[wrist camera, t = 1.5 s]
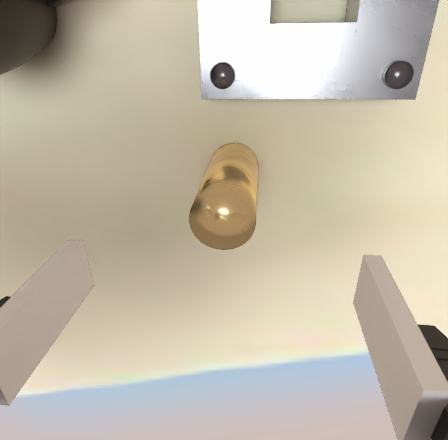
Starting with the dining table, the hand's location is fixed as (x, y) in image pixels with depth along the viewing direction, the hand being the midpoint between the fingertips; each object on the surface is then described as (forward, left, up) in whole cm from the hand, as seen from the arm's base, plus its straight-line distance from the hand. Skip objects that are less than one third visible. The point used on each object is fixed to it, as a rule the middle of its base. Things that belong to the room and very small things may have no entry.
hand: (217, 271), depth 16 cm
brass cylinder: (0, 0, -15) cm, 15 cm away
